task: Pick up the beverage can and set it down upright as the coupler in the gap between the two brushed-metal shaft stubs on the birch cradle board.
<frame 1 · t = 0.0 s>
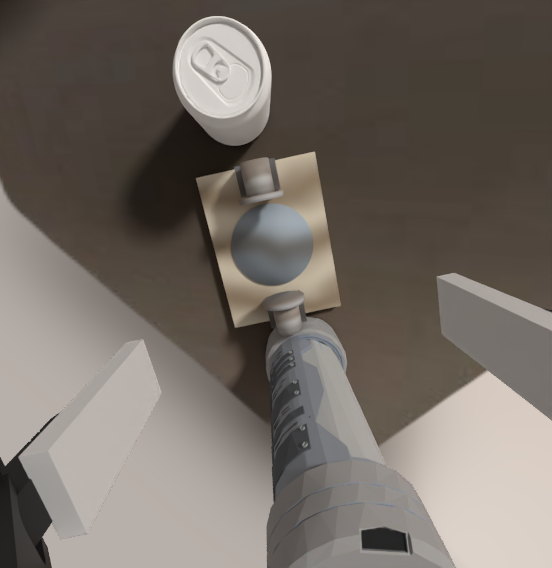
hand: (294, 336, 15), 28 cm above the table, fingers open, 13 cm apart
cradle: (272, 244, 42), on the table
canister: (302, 348, 46), on the table
beverage can: (233, 108, 38), on the table
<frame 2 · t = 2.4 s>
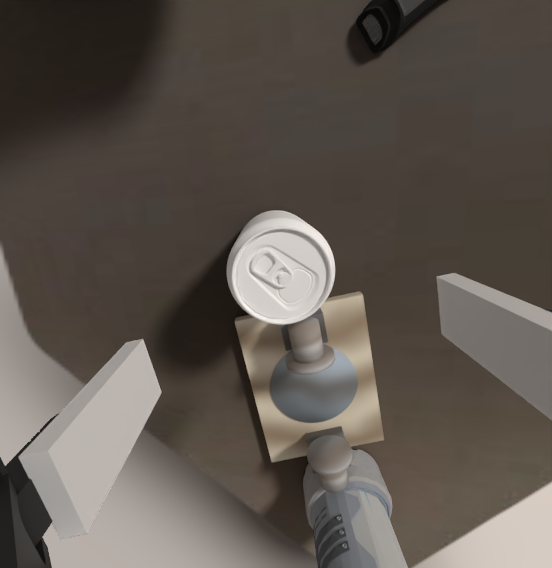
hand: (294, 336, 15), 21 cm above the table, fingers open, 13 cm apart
cradle: (312, 378, 39), on the table
canister: (340, 475, 43), on the table
beverage can: (276, 249, 35), on the table
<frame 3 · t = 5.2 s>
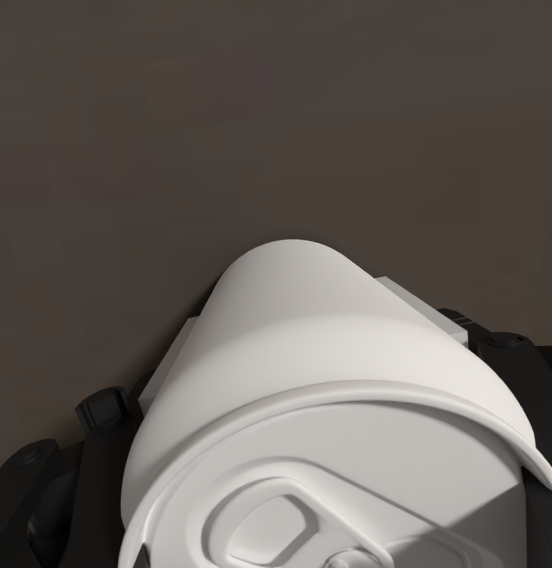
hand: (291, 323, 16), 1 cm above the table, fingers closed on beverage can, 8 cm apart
beverage can: (290, 316, 17), on the table, touching gripper
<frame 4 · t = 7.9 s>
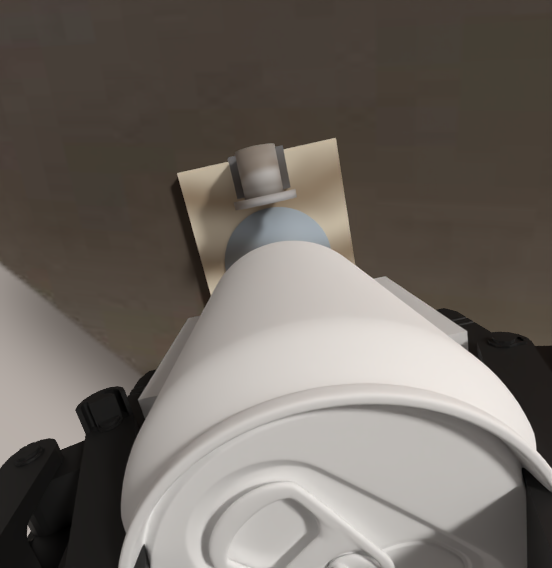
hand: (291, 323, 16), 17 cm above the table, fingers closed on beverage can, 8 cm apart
cradle: (278, 259, 32), on the table
beverage can: (290, 317, 17), point 16 cm above the table, touching gripper
when the fingers open (4 cm above the table, at t = 11.0 s): beverage can drops 2 cm, resting on cradle.
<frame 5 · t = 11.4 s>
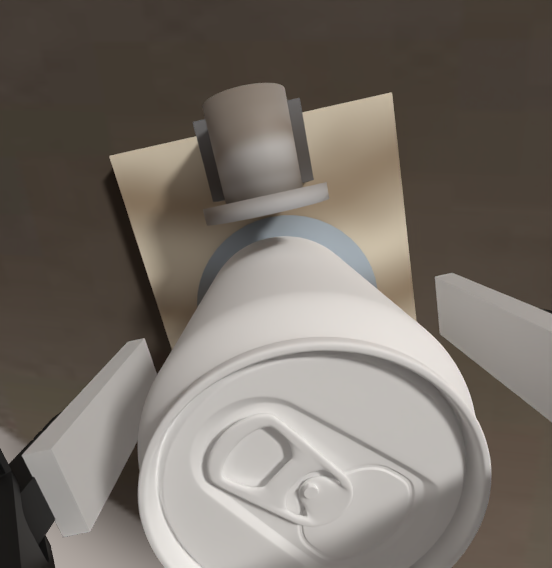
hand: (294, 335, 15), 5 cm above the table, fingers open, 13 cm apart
cradle: (286, 299, 20), on the table
beverage can: (283, 306, 18), point 1 cm above the table, touching cradle
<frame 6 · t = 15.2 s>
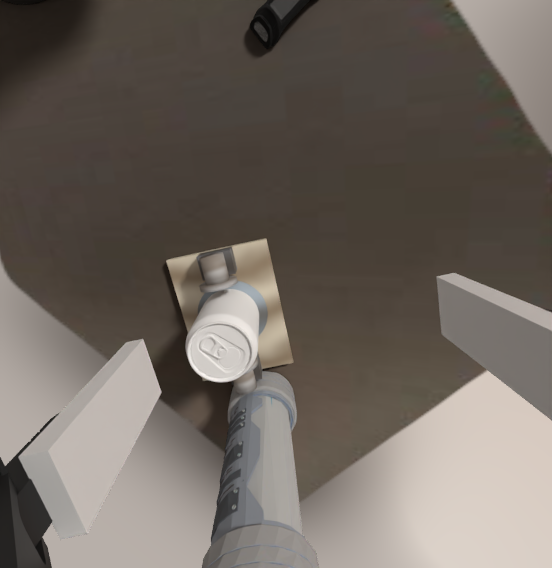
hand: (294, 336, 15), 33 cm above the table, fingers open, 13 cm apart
cradle: (233, 311, 49), on the table
canister: (262, 396, 53), on the table
beverage can: (231, 314, 47), point 1 cm above the table, touching cradle
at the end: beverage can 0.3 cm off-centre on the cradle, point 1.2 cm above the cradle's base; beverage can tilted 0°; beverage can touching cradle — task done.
